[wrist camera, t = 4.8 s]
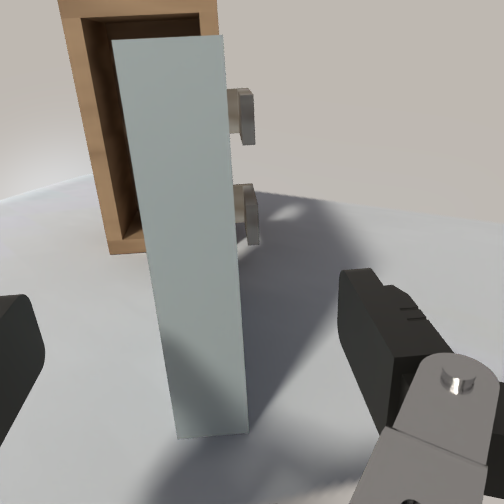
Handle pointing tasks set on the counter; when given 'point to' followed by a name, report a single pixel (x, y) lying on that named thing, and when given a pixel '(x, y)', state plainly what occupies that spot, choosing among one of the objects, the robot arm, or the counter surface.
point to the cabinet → (111, 111)
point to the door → (188, 222)
